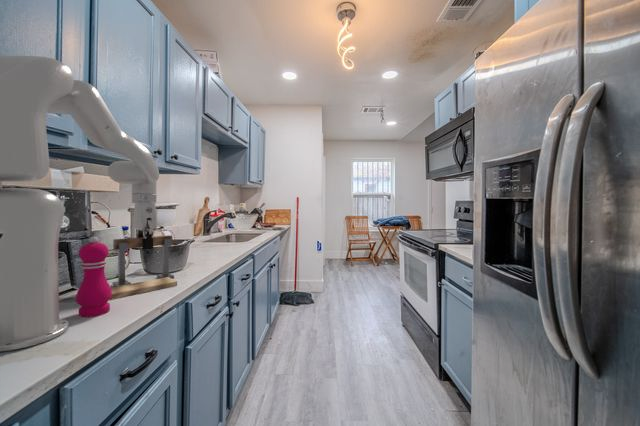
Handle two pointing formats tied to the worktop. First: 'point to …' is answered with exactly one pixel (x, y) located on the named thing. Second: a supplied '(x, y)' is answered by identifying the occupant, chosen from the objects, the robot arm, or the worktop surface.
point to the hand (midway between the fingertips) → (144, 247)
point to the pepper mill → (93, 280)
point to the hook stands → (121, 263)
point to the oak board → (142, 287)
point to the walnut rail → (140, 241)
